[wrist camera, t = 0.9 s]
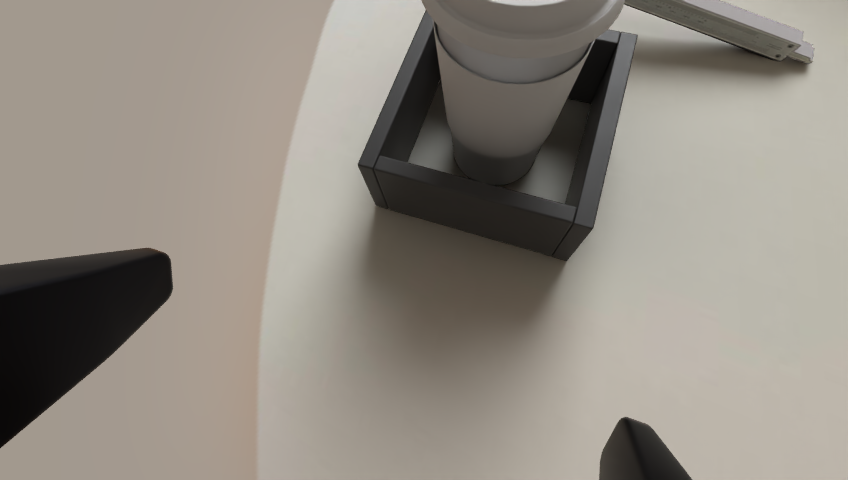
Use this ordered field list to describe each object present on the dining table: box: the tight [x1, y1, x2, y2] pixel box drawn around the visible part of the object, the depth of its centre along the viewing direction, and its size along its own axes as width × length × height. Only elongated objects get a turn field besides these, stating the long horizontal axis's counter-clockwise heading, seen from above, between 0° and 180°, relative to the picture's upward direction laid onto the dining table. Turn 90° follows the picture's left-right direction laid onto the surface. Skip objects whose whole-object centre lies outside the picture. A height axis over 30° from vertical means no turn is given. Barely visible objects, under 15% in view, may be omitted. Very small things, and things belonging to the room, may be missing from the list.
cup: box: [422, 0, 625, 185], centre depth 18 cm, size 7×7×12 cm
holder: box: [358, 11, 638, 261], centre depth 22 cm, size 11×11×4 cm
